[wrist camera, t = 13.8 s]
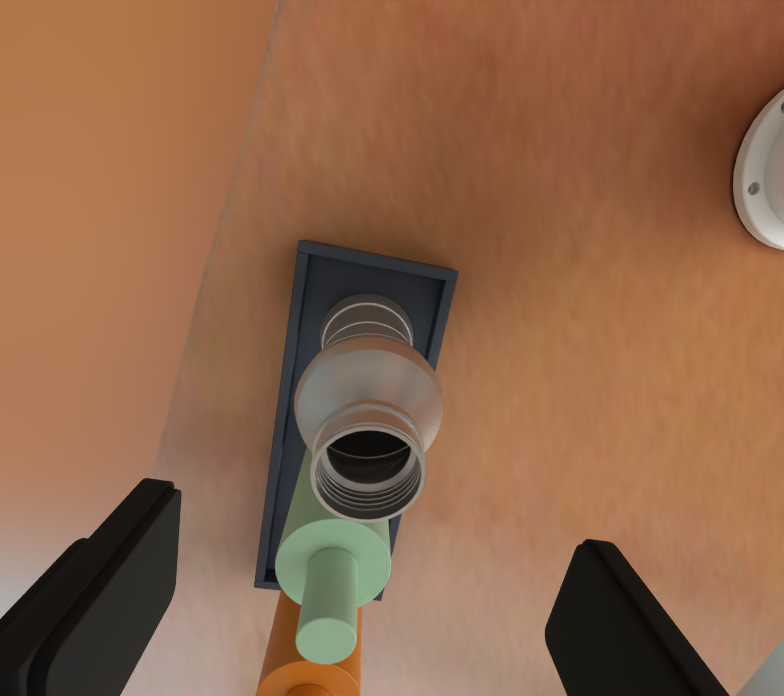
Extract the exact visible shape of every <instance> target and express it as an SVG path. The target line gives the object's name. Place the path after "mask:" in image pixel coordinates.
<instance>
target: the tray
mask: <svg viewBox="0 0 784 696" xmlns="http://www.w3.org/2000/svg"><path fill="white" fill-rule="evenodd" d="M457 277H458V271H456V270H454V269H451V268H445V267H440V266H435V265H430V264H425V263H420V262H415V261H410V260H405V259H400V258H395V257H389V256H384V255H379V254H374V253H369V252H364V251H359V250H354V249H349V248H344V247H338V246H333V245H328V244H323V243H318V242H313V241H308V240H299V243H298V253H297V259H296V267H295V275H294V283H293V290H292V298H291V306H290V313H289V321H288V329H287V336H286V344H285V352H284V359H283V367H282V375H281V383H280V390H279V398H278V406H277V413H276V421H275V429H274V436H273V444H272V452H271V459H270V467H269V475H268V482H267V490H266V498H265V506H264V513H263V521H262V529H261V536H260V544H259V552H258V559H257V567H256V575H255V582H254V587H255V588H263V589H273V590H281V586H280V584H279V582H278V580H277V576H276V572H275V560H276V555H277V551H278V548H279V544H280V541H281V537H282V534H283V530H284V526H285V523H286V519H287V516H288V512H289V509H290V505H291V501H292V498H293V494H294V491H295V487H296V483H297V480H298V476H299V473H300V469H301V466H302V462H303V458H304V455H305V451H306V448H307V445H306V444H305V442H304V440H303V438H302V436H301V433H300V431H299V428H298V425H297V422H296V417H295V411H294V398H295V393H296V389H297V385H298V382H299V381H300V379H301V377H302V375H303V373H304V371H305V370H306V368H307V366H308V365H309V364H310V362H311V361H312V360H313V359H314V358H315V356H316V355H317V354H318V353H320V352H321V351H322V349H321V342H320V330H321V327H322V323H323V321H324V319H325V317H326V315H327V313H328V312H329V311H330V310H331V308H332V307H333V306H334V305H336V304H337V303H338V302H339V301H341V300H343V299H345V298H347V297H349V296H353V295H356V294H364V293H368V294H377V295H381V296H384V297H386V298H388V299H390V300H392V301H394V302H395V303H396V304H398V305H399V306H400V307H401V308H402V309H403V310H404V312H405V313H406V315H407V316H408V318H409V320H410V323H411V326H412V330H413V346H412V347H413V348H414V349H415V350H416V351H418V352H419V353H420V354H421V355H422V356H423V358H424V359H425V360H426V361H427V362H428V363H429V365H430V366H431V367H432V369H433V371H434V372H435V370H436V366H437V361H438V357H439V353H440V349H441V344H442V340H443V336H444V332H445V327H446V323H447V319H448V315H449V310H450V306H451V302H452V298H453V293H454V289H455V285H456V281H457ZM401 514H402V513H401ZM401 514H399V515H397V516H395V517H393V518H391V519H388V525H389V539H390V553H391V557H392V553H393V549H394V544H395V540H396V536H397V531H398V527H399V523H400V519H401ZM384 587H385V586H384ZM383 591H384V588H383V589H382V591H381V592H380V593H379V594H378V595H377V596H376V597H375V598H374V599H373V600H378V601H381V599H382V595H383Z"/></svg>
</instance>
